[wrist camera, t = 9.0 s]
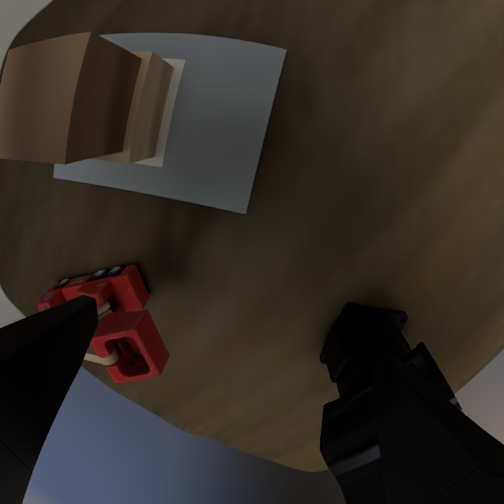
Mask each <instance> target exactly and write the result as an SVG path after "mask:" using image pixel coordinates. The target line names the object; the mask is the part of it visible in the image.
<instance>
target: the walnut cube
mask: <svg viewBox="0 0 504 504" xmlns="http://www.w3.org/2000/svg"><path fill="white" fill-rule="evenodd" d="M141 61H142V58H140V57H138V56H136V55H135V54H133V53H131V52H129V51H127V50H126V49H124V48H122V47H120V46H118V45H116V44H114V43H113V42H111V41H109V40H107V39H105V38H103V37H101V36H99V35H97V34H95V33H93V32H86V33H79V34H73V35H67V36H62V37H57V38H52V39H48V40H43V41H39V42H35V43H31V44H28V45H24V46H21V47H17V48H14V49H11V50H9V52H8V56H7V59H6V63H5V67H4V71H3V75H2V80H1V84H0V158H3V159H15V160H26V161H36V162H45V163H54V164H62V165H66V164H70V163H74V162H78V161H82V160H86V159H91V158H95V157H100V156H105V155H109V154H114V153H120V152H123V146H124V139H125V133H126V127H127V122H128V117H129V111H130V107H131V102H132V97H133V93H134V88H135V84H136V80H137V76H138V72H139V68H140V65H141Z"/></svg>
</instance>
